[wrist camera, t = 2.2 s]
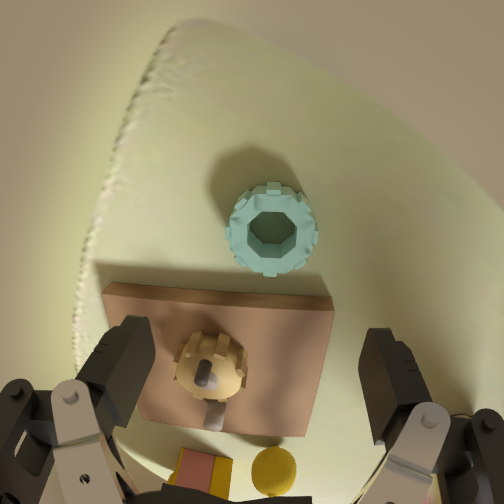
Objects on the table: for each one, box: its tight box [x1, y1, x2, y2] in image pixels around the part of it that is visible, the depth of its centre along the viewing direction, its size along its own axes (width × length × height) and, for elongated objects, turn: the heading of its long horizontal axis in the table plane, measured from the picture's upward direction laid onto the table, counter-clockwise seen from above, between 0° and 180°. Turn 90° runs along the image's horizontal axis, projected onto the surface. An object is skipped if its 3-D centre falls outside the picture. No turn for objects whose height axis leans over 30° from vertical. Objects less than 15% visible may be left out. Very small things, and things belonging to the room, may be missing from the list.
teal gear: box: [225, 181, 319, 277], centre depth 21 cm, size 6×6×2 cm
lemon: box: [252, 445, 296, 497], centre depth 31 cm, size 6×6×8 cm
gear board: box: [101, 282, 334, 437], centre depth 26 cm, size 19×18×6 cm
